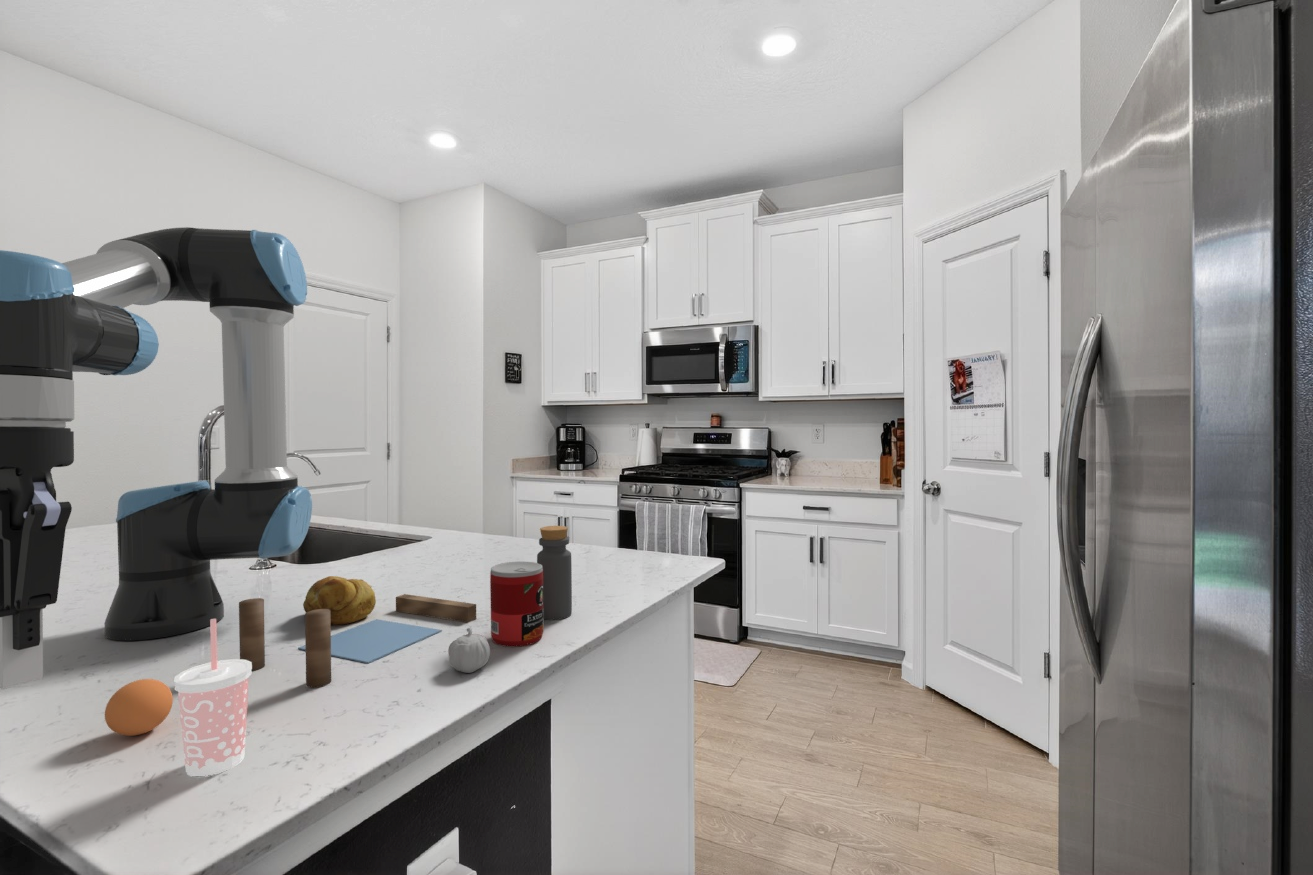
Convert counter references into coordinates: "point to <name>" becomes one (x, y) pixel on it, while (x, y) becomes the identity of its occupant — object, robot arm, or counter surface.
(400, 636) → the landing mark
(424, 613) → the bar
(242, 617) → the left post
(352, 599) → the bread roll
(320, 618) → the right post
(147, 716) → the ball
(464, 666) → the garlic
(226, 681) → the beverage cup
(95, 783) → the counter surface
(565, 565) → the bottle
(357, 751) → the counter surface
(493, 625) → the canned food
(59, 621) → the counter surface
